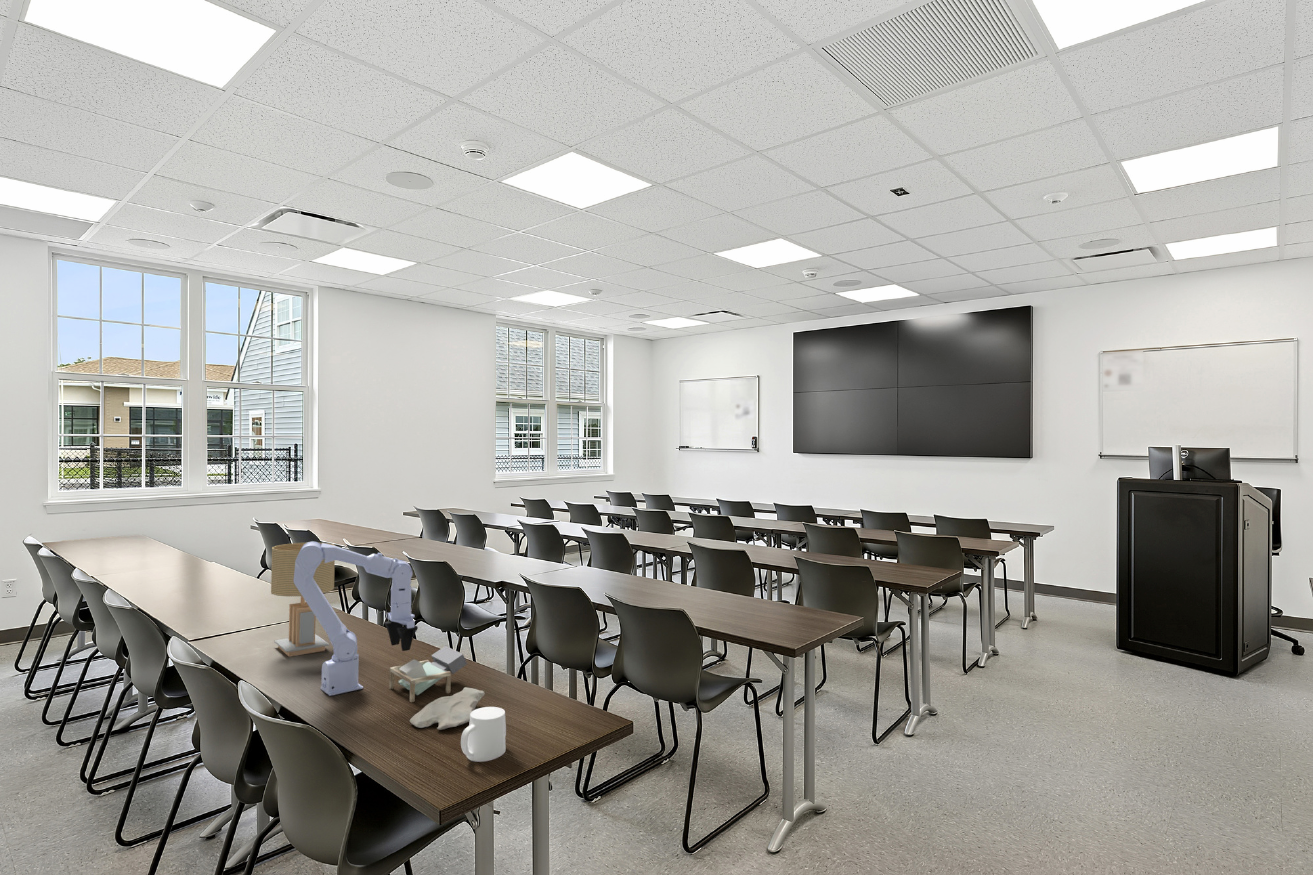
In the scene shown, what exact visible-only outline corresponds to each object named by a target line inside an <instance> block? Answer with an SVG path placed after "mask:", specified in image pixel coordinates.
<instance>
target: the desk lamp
mask: <svg viewBox="0 0 1313 875" xmlns="http://www.w3.org/2000/svg"><path fill="white" fill-rule="evenodd" d="M306 543H307V542H295V543H287V544H286V543H285V544H279V545H275V546H272V547H271V572H270V573H271V576H270V577H271V579H270V580H271V581H270V583H271V584H270V593H271V595H274V596H277V597H279V596H280V597H300V602H296V603H290V604H289V609H288V611H289V613H288V637H287V638H280V639H275V640H274V643H275V644H276V645H277V646H278V649H279V650H280V651H282V652H283V653H284V654H285V655H286V656H288V657H289V658H290V657H294V656H301V655H306V654H312V653H319V652H325V651H326V646H330V643H329V642H328V641H326V640H325V639H323V638H322V637H320V636H319V635H317V634H316V621H317V618H316V616H315V615H314V613H313V612H312V610H311V608H310V607H309V605H308V604H307V602H306V601H305V599H304V598H303V596H302V595H301V593H300V592H299V590H298V589H297V587H296V585H295V584H294V571H295V561H296V558H297V556H298V554H299V552H300V550H301V548H302V546H303V545H304V544H306ZM319 543H320V544H321V545H322V543H323V542H319ZM324 543H325V544H330V545H334V546H336V545H335V544H334V543H329V542H324ZM335 561H336V560H334V561H331V562H327V563H325V559H323V560H322V562H321V563H320V564H319V566H318V567H317V568H316V570H315V573H314V576H313V579H314V580H315V582H316V583H317V585H318V586H319V588H320V589H321V591H322V593H323V594H325V593H329V592H332V591H333V590H334V589H335Z"/></svg>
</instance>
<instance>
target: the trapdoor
mask: <svg viewBox="0 0 1313 875" xmlns="http://www.w3.org/2000/svg"><path fill="white" fill-rule="evenodd" d="M431 658H432V662H431V661H429V662H426V663H425V664H423V665H422V666H423V668H424V670H425V673H426V675H427V676H429V675H434V674H438V673H443V672H447V671H450V672H451V675H454V674H455V673H456V672H458V671H460V670H461V669H462V668H463V667H465V666H466V665H468V662H467V660H466V657H465V656H464V654H463V653H461V652H459V651H458V650H455V649H453V648H451V647H448V645H447V646H446V645H445V646H443V647H441V649H439V650H437V651H436V652H434V653H432V654H431ZM443 678H444V677H441V678H437V679H433V680H428V681H424V682H420V683H419V684H417V685H416V686H415V696H419V695H420V694H422V693H424V691H426V690H427V689H430V687H432V686H433V685H434V684H436V683H437V682H439V681H441V679H443ZM397 682H398V684H399V685H400V686H401V687H403V688H405V689H406V690H408V691H410V686H409V685H408V684H406V683H405V681H404V680H403V679H402V678H400V679H399V680H398V681H397Z"/></svg>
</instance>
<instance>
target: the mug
mask: <svg viewBox="0 0 1313 875" xmlns="http://www.w3.org/2000/svg"><path fill="white" fill-rule="evenodd" d="M506 722H507V721H506V711H505V709H503V708H502V707H496V706H484V707H480V708H475V710H474V711H472V712H471V713H470V721H469V722H468V723H469V725H468V726H467V727H466V728H464V729H463V731H462V734H461V736H460V747H461V751H462V753H463V754H464V755H465V756H466V758H467V759H468V760H469V761H471V762H476V763H477V762H481V763H482V762H488V761H492V760H495V759H498V758H499V757H501V756H503V755H504V754H505V752H506V750H507V749H506V748H507V747H506V742H507V740H506V736H507V724H506Z"/></svg>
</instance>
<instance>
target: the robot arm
mask: <svg viewBox="0 0 1313 875" xmlns="http://www.w3.org/2000/svg"><path fill="white" fill-rule="evenodd" d="M305 543H306V544H304V545H303V546H302V548H301V550H300V552H299V554H298V556H297V558H296V561H295V571H294V584H295V585H296V587H297V589H298V590H299V592H300V593H301V595H302V596H303V598H304V599H305V602H307V604H308V605H309V607H310V608H311V610H312V612H313V613H314V615H315V616H316V620H317V621H318V622H319V624H320V626H321V627H322V628H323V630H324V631H325V633H326V635H327V638H328V640H329V642H330V644H331V645H332V647H333V648H332V649H333V654H332V656H331V659H329V660H326V661H324V662H322V664H321V665H322V666H321V680H320V681H321V682H320V683H321V686H320V688H319V689H320V690H321V691H323V693H325V694H327V695H328V696H329V697H330V696H337V695H340V694H344V693H348V692H354V691H357V690H362V689H364V686H363V685H362V684H360V683H359V664H360V663H359V662H360V660H359V658H360V657H359V656H360V655H359V653H358V649H359V648H358V644H357V643H358V637H357V635H356V634H355V633H354V632H353V631H350V630H349V629H348V628H347V626H346V625H345V623H343V622H342V621H341V619H340V617H339V616H338V614H337V613H336V611H335V610H334V608H333V606H332V605H331V603H330V602H329V601H328V599H327V597H326V596H325V593H322V591H321V589H320V588H319V586H318V585H317V583H316V582H315V580H314V579H313V576H314V573H315V570H316V568H317V567H318V566H319V564H320V563H321V562H322V560H323V559H325V563H327V562H331V561H334V560H335V561H338V562H343V563H346V564H351V565H356V566H359V567H363V568H364V570H365V572H366V573H368V574H371V575H374V576H378V577H383V578H386V579H389V578H391V587H390V612H387V620H388V621H384V622H383V623H384V626H385V628H386V630H387V632H388V635H389V639H390V640H389V641H390V644H391V646H396V645H400V647H401V651H402V652H406V651H410V650H411V646H412V642H413V639H414V636H415V634H416V632H417V630H418V628H419V627H418V626H417V625H415V620H414V618H416V617H415V614H413V613H412V584H411V583H412V578H413V573H414V572H413V569H412V567H411V565H410V564H409V563H408V562H407V561H405V560H404V559H399V558H397V557H394V558H390V557H389V556H383V553H381V552H377V553H371V554H370V555H364V554H361V553H359V552H356V551H353V550H349V549H346V548H344V547H339V546H336V545H335V544H334V545H335V546H334V545H330V544H331V543H330V544H325V543H326V542H318V541H313V540H312V541H308V542H305ZM320 543H322V545H321V544H320Z"/></svg>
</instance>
